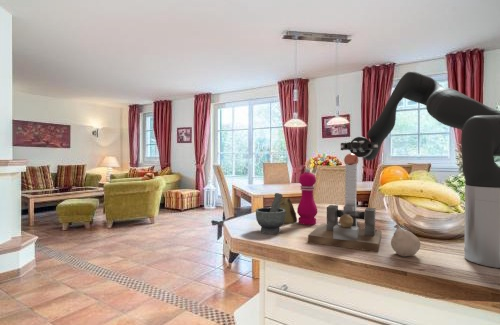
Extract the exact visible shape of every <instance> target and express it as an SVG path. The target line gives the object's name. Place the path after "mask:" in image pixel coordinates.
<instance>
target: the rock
mask: <svg viewBox="0 0 500 325" xmlns="http://www.w3.org/2000/svg"><path fill="white" fill-rule="evenodd" d="M279 208H280V209H285V211H286V212H285V220H284V222H283V224H285V223H286V224H294V223H298V216H297V213H296V212H297V211H295V208H294V205H293V203H292V201H291V199H290V197H282V199H281V202H280V207H279Z"/></svg>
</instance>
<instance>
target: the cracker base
mask: <svg viewBox="0 0 500 325" xmlns="http://www.w3.org/2000/svg"><path fill="white" fill-rule="evenodd" d="M337 210H339V205H337V204H329V205H328V206H327V207H326V224H325V223H320V225H318V226H317V227H316V228H315V229H313V230H312V231H311V232H309V233H308V235H307V242H308V243H310V244H311V243H312V244H319V245H326V246H333V247H340V248H341V247H342V248H348V249H354V250H355V249H356V250H361V251H369V252H370V251H371V252H379V250H380V245H381V240H382V229H376V207H365V210H364V212H365V219H364V227H359V226H357V227H355V226H352V225H353V218H352V217H351V216H350V215H347V214H345V215H342V216H341V217H337Z"/></svg>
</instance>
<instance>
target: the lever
mask: <svg viewBox="0 0 500 325" xmlns="http://www.w3.org/2000/svg"><path fill="white" fill-rule="evenodd" d="M343 163H344V165H345V169H344V170H345V173H344V174H345V175H344V177H345V180H344V181H345V182H344V185H345V186H344V188H345V189H344V191H345V192H344V206H343V209H338V210H337V217H338V218H340V217H341V216H342V215H345V214H347V215H350V216H351V217H352V218H353V225H352V226H355V227H358V220H365V211H359V210H357V190H358V189H357V187H358V185H357V181H358V180H357V179H358V176H357V174H358V173H357V171H358V170H357V169H358V164H359V157H357V156H356V155H355V154H352V153H351V152H350V153H348V154H346V155H345V156H344V159H343Z"/></svg>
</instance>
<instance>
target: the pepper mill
mask: <svg viewBox="0 0 500 325" xmlns="http://www.w3.org/2000/svg"><path fill="white" fill-rule="evenodd" d="M316 181H317V178H316V176H315V175H314V173H313V172H311V169H310V168H305V170H304V172H303V173H302V174H300V176H299V179H298V182H299V184H300V190H301V197H300V201H299V203H298V205H297V211H296V212H297V213H296V214H298V216H299V217H298V224H300V225H305V226H308V225H309V226H312V225H316V224H317V218H316V216H317V214H318V207H317V204H316V203H315V202H316V201H315V200H314V199H315V198H314V191H315V186H314V185H315V184H316Z"/></svg>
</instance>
